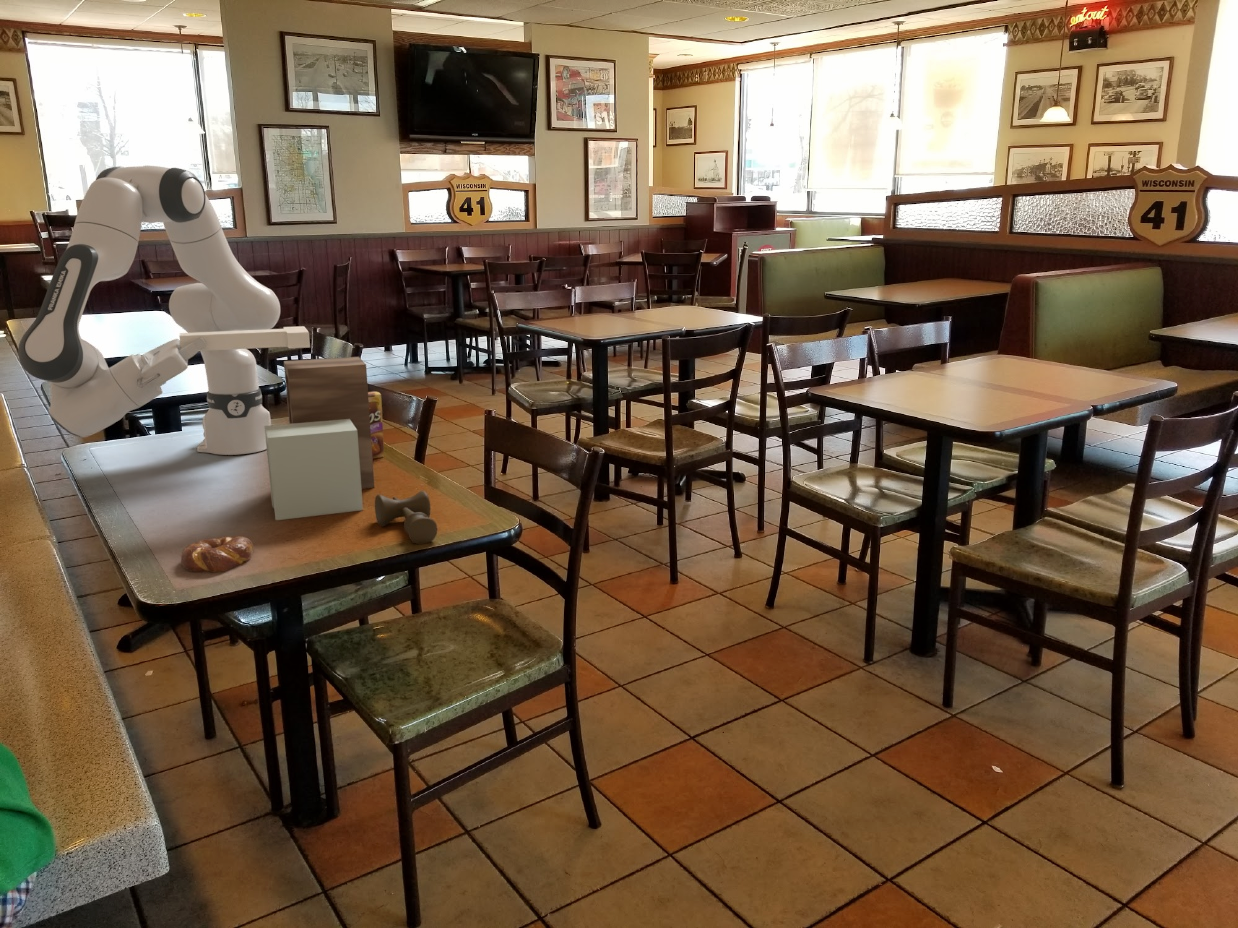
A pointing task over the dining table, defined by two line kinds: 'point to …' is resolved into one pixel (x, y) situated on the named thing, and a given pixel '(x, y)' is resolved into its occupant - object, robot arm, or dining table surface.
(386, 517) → the kendama
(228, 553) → the pretzel
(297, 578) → the dining table surface
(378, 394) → the candy box
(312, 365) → the tall stand
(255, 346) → the T-piece
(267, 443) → the pale green rectangular block
